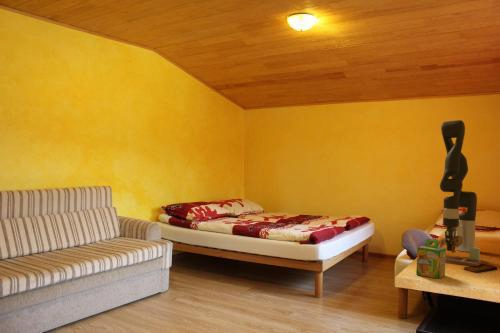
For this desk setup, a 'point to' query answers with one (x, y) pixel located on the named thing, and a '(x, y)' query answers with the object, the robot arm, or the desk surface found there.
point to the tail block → (474, 253)
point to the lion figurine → (455, 242)
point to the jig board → (462, 261)
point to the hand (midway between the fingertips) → (450, 249)
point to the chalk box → (431, 260)
